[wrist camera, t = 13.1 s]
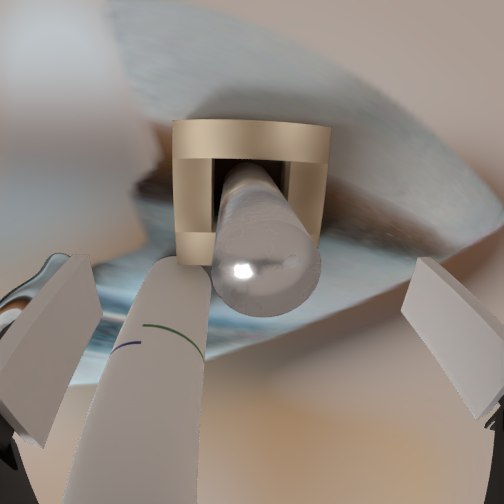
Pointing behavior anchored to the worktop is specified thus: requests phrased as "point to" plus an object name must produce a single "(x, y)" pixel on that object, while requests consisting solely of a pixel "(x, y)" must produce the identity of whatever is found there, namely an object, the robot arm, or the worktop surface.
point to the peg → (261, 247)
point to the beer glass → (28, 290)
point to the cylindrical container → (148, 398)
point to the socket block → (243, 147)
